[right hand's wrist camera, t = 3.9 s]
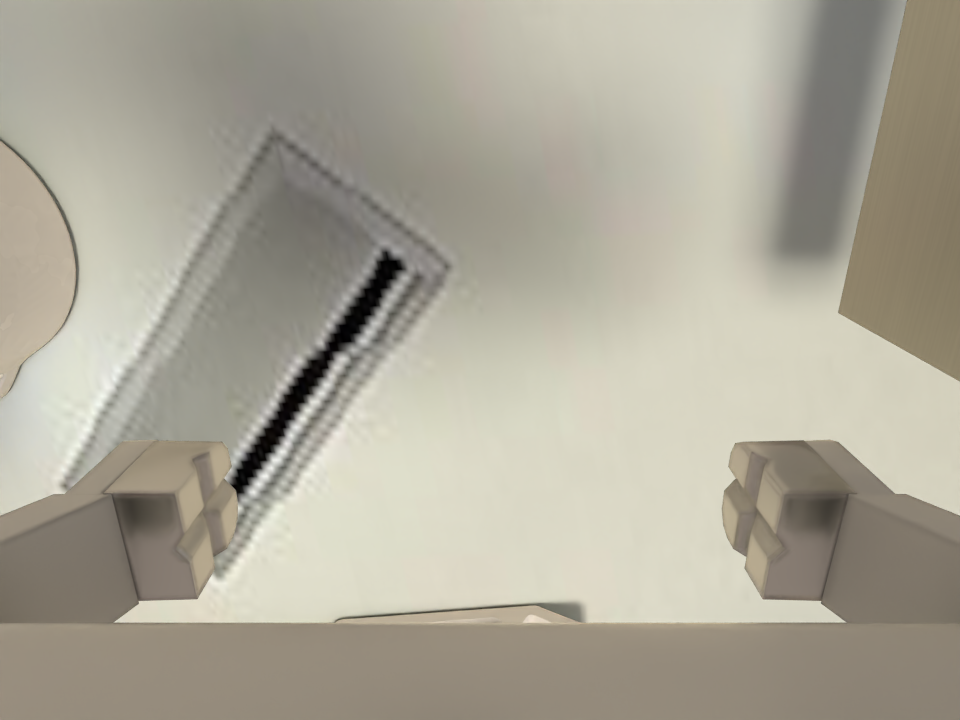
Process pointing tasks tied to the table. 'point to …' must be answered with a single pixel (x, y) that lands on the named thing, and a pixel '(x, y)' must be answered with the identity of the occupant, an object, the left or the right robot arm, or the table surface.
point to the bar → (914, 198)
